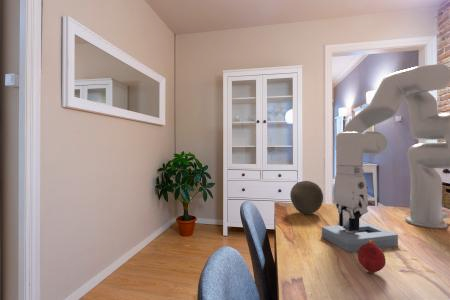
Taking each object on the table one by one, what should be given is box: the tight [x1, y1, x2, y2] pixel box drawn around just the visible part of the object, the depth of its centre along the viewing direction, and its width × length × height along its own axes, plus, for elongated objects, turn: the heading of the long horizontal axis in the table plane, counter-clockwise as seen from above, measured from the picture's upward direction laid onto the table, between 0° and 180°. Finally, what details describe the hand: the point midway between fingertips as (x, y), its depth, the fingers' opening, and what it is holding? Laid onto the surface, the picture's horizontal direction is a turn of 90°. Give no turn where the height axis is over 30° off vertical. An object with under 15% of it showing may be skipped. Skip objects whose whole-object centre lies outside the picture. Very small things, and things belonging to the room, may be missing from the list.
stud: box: [343, 209, 355, 234], centre depth 76 cm, size 4×4×10 cm
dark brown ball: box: [289, 180, 324, 215], centre depth 107 cm, size 14×14×15 cm
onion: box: [356, 239, 386, 274], centre depth 57 cm, size 6×6×8 cm
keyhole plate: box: [321, 222, 399, 253], centre depth 77 cm, size 18×12×3 cm, turn 103°
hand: (349, 227), depth 76 cm, fingers closed on stud, 3 cm apart
